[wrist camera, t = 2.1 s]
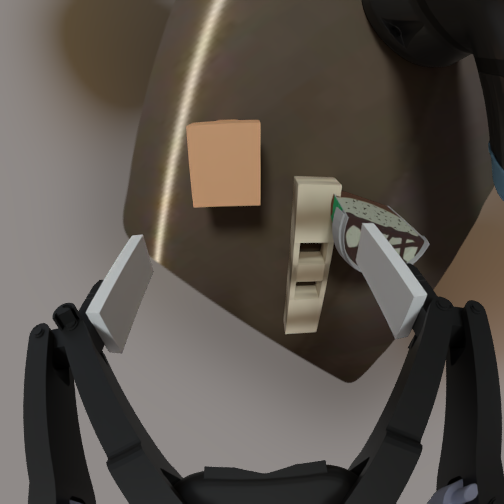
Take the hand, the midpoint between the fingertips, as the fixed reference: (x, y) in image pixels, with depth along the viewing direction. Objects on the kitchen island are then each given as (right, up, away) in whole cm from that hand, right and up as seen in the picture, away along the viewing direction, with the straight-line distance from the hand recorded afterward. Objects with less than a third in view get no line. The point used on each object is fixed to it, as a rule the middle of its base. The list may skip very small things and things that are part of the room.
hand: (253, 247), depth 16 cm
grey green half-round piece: (+13, +5, +19) cm, 23 cm away
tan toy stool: (-3, +11, +14) cm, 18 cm away
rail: (+7, -1, +22) cm, 23 cm away
